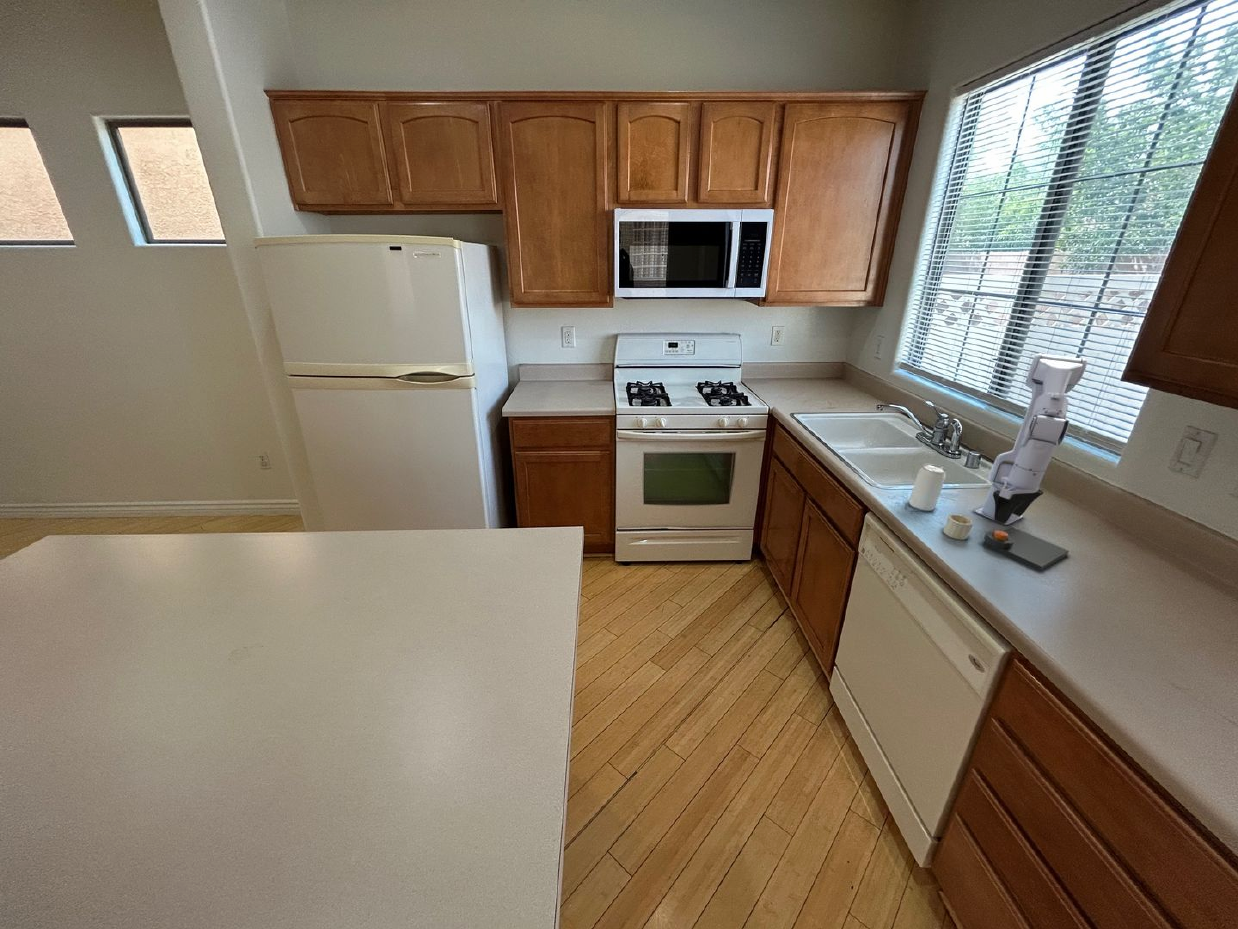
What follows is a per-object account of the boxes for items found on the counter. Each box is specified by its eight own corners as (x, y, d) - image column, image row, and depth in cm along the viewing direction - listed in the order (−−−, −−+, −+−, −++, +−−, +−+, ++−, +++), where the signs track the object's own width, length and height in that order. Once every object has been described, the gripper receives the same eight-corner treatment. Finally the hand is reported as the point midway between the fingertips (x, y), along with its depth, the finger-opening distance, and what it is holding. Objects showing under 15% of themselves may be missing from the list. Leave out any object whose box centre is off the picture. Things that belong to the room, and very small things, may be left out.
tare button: (996, 534, 118) (998, 529, 117) (1007, 539, 116) (1010, 534, 115) (990, 536, 117) (993, 531, 116) (1002, 542, 115) (1005, 536, 114)
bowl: (950, 527, 126) (955, 512, 124) (971, 536, 121) (977, 521, 120) (939, 531, 123) (944, 516, 121) (960, 541, 119) (966, 526, 117)
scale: (1007, 530, 125) (1011, 520, 124) (1066, 555, 115) (1071, 545, 114) (977, 544, 118) (981, 534, 117) (1037, 572, 108) (1043, 561, 107)
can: (927, 501, 138) (940, 464, 133) (938, 512, 133) (952, 473, 128) (904, 499, 139) (916, 462, 134) (914, 510, 133) (927, 472, 128)
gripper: (1024, 455, 115) (1004, 503, 120) (994, 465, 108) (973, 517, 114) (1060, 466, 109) (1036, 516, 115) (1030, 478, 103) (1006, 531, 108)
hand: (1007, 517), depth 114 cm, fingers open, 7 cm apart
